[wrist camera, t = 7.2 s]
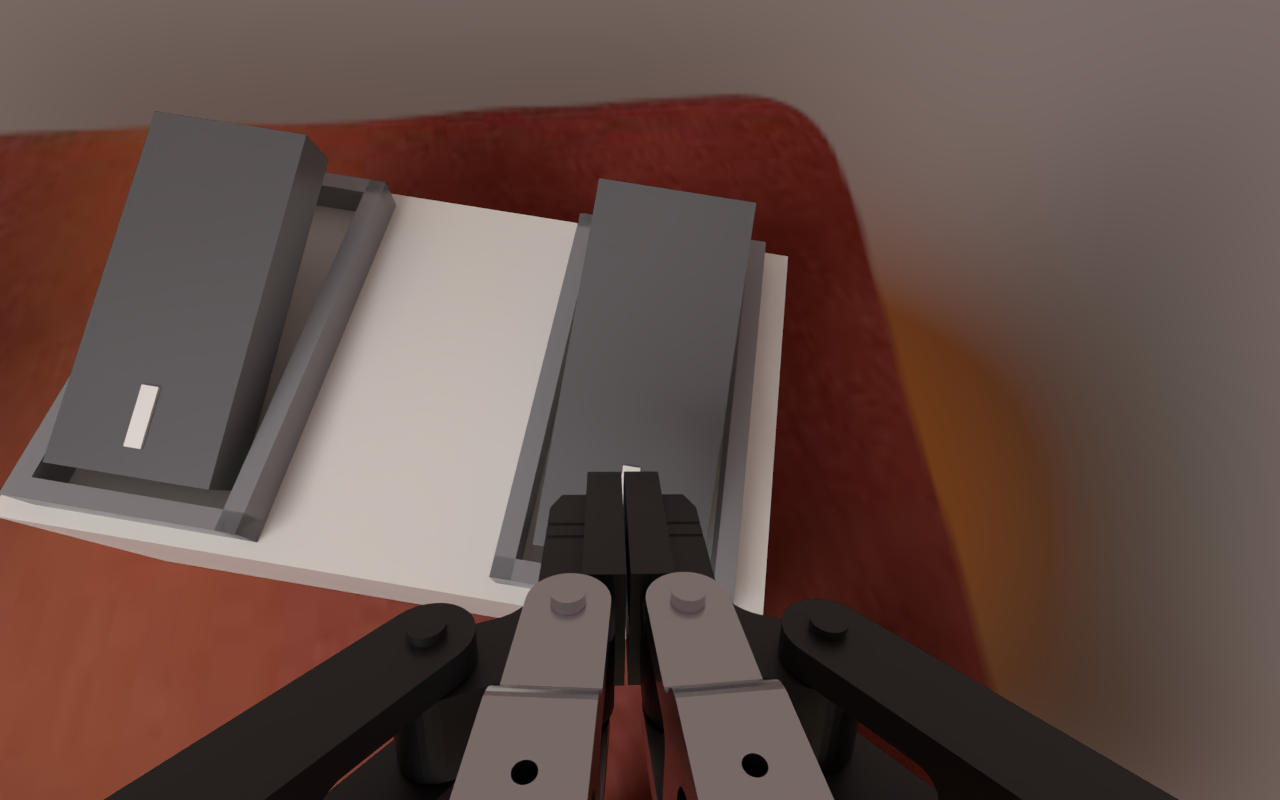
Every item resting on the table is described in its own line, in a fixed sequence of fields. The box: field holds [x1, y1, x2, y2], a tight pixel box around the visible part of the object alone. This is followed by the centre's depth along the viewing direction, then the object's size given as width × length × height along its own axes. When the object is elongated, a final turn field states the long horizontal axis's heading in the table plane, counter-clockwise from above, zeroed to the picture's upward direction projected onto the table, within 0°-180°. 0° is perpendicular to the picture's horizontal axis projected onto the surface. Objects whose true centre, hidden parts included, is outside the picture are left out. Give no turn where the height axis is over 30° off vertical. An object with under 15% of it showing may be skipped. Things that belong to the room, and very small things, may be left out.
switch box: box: [0, 173, 788, 639], centre depth 24 cm, size 30×14×9 cm, turn 81°
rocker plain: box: [43, 111, 328, 491], centre depth 19 cm, size 5×11×2 cm, turn 171°
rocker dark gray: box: [533, 178, 756, 546], centre depth 19 cm, size 5×11×2 cm, turn 171°
